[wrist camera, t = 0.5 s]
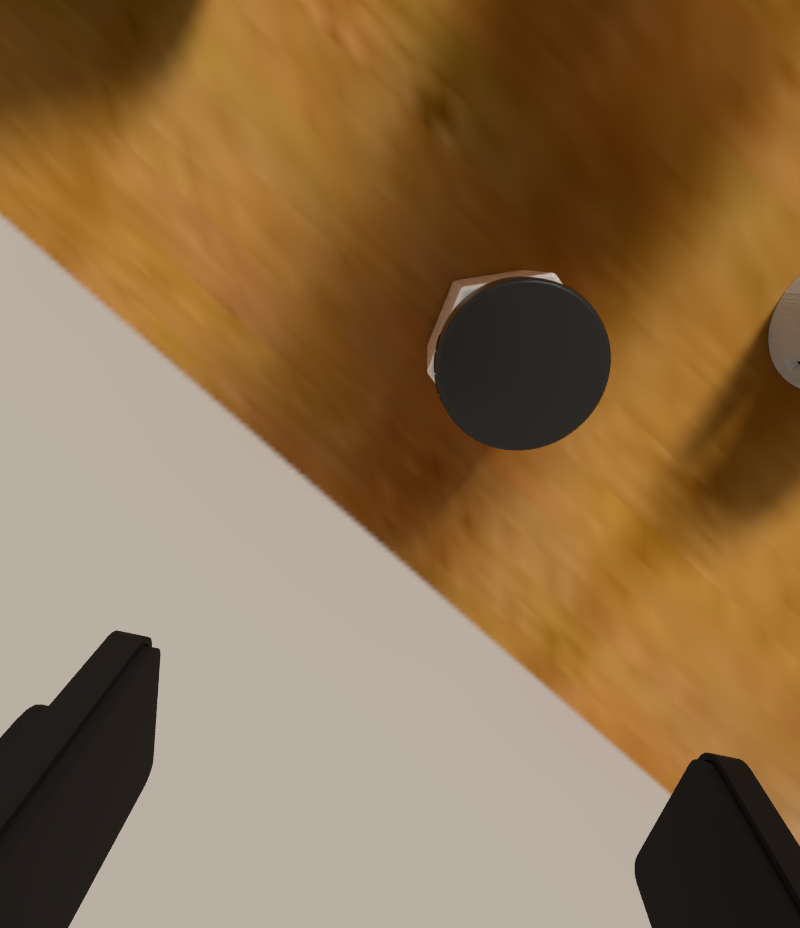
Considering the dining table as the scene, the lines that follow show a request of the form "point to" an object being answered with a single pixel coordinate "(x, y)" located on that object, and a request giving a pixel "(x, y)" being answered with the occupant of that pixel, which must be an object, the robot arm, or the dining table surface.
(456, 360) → the jar
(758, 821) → the robot arm
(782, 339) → the cup
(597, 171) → the dining table surface
